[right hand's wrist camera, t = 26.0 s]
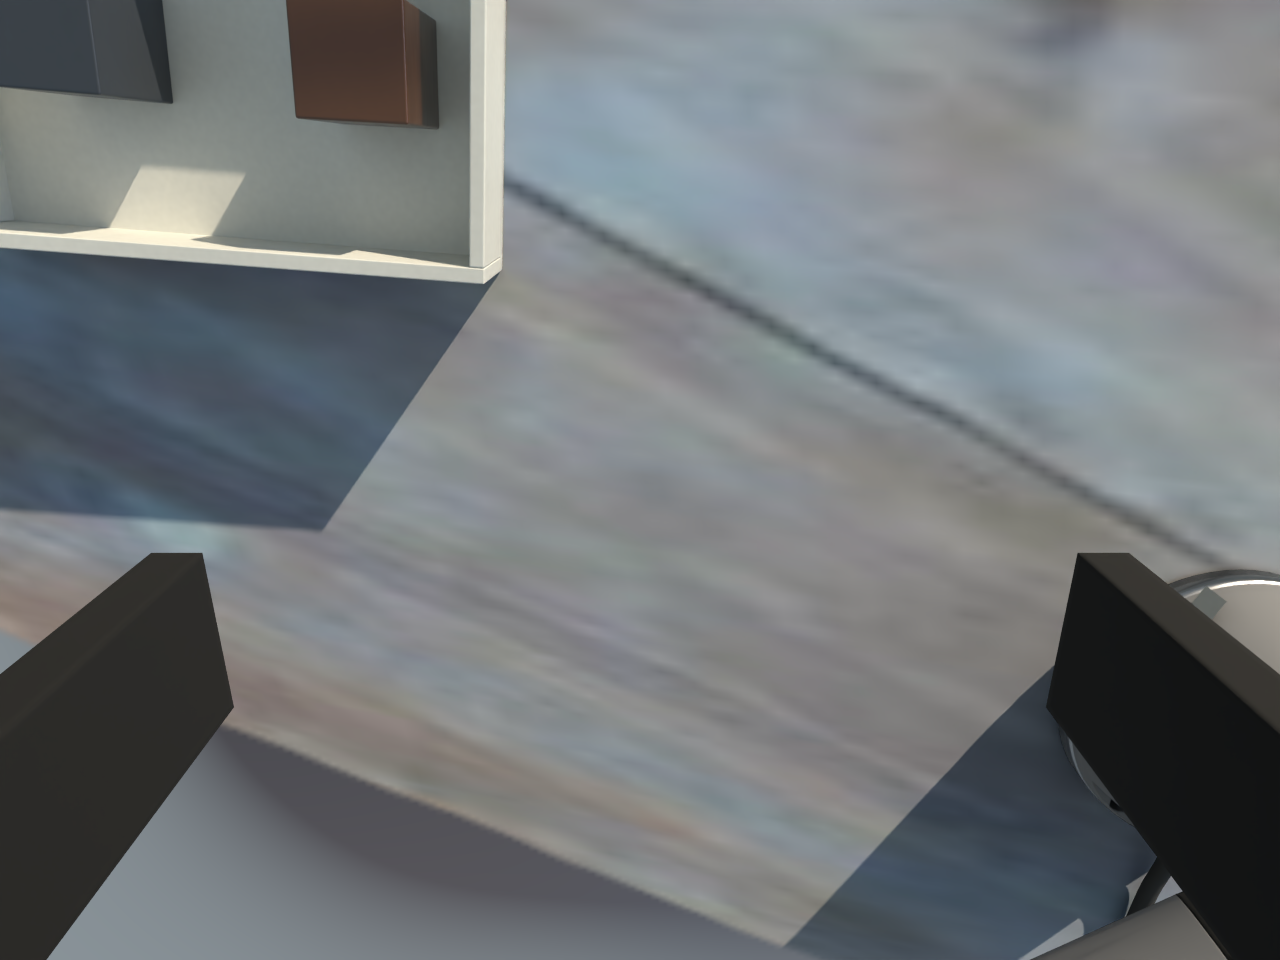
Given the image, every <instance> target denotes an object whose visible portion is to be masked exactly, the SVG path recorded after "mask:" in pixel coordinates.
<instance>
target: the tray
mask: <svg viewBox="0 0 1280 960" xmlns="http://www.w3.org/2000/svg"><path fill="white" fill-rule="evenodd" d="M407 1H408V2H409V3H411V4H412V5H414V6H415V7H417V8H418V9H420V10H421V11H423V12H424V13H426V14H427V15H428V16H430V17H431V18H433V19H434V20H435V21H436V35H437V70H438V106H439V129H437V130H434V129H417V128H400V127H383V126H366V125H349V124H338V123H329V122H321V121H313V120H305V119H298V118H296V116H295V104H294V92H293V80H292V68H291V56H290V44H289V32H288V20H287V9H286V0H162V3H163V12H164V21H165V31H166V40H167V49H168V59H169V68H170V77H171V87H172V96H173V104H165V103H153V102H141V101H130V100H118V99H107V98H95V97H83V96H73V95H64V94H55V93H46V92H37V91H29V90H20V89H11V88H2V87H0V248H7V249H20V250H33V251H47V252H60V253H73V254H87V255H100V256H113V257H127V258H140V259H153V260H167V261H180V262H193V263H206V264H220V265H233V266H246V267H260V268H273V269H286V270H300V271H313V272H326V273H340V274H353V275H366V276H380V277H393V278H406V279H420V280H433V281H446V282H460V283H473V284H485V283H486V282H487V281H488V280H490V279H491V278H492V277H493V276H495V275H496V274H497V273H498V272H500V271H501V270H502V242H503V177H504V112H505V48H506V0H407Z"/></svg>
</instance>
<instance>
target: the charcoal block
mask: <svg viewBox="0 0 1280 960" xmlns="http://www.w3.org/2000/svg"><path fill="white" fill-rule="evenodd" d="M0 87H2V88H11V89H20V90H29V91H37V92H46V93H55V94H64V95H73V96H83V97H95V98H107V99H118V100H130V101H141V102H153V103H165V104H173V96H172V87H171V77H170V68H169V59H168V49H167V40H166V31H165V21H164V12H163V3H162V0H0Z"/></svg>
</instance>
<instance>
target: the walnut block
mask: <svg viewBox="0 0 1280 960" xmlns="http://www.w3.org/2000/svg"><path fill="white" fill-rule="evenodd" d="M286 9H287V20H288V32H289V44H290V56H291V68H292V80H293V92H294V104H295V116H296V118H298V119H305V120H313V121H321V122H329V123H338V124H349V125H366V126H383V127H400V128H417V129H434V130H437V129H439V106H438V70H437V35H436V21H435V20H434V19H433V18H431V17H430V16H428V15H427V14H426V13H424V12H423V11H421V10H420V9H418V8H417V7H415V6H414V5H412V4H411V3H409V2H408V1H407V0H286Z"/></svg>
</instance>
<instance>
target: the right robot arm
mask: <svg viewBox="0 0 1280 960" xmlns="http://www.w3.org/2000/svg"><path fill="white" fill-rule="evenodd" d="M233 708H234V705H233V701H232V696H231V691H230V686H229V681H228V676H227V671H226V666H225V662H224V657H223V652H222V647H221V642H220V637H219V632H218V627H217V622H216V618H215V613H214V608H213V603H212V598H211V593H210V588H209V583H208V579H207V574H206V569H205V564H204V559H203V554H202V553H151V554H149V555H148V556H147V557H146V558H144V559H143V560H142V561H141V562H139V563H138V564H137V565H136V566H134V567H133V568H132V569H131V570H129V571H128V572H127V573H126V574H124V575H123V576H122V577H121V578H119V579H118V580H117V581H116V582H114V583H113V584H112V585H111V586H109V587H108V588H107V589H106V590H105V591H103V592H102V593H101V594H100V595H98V596H97V597H96V598H95V599H93V600H92V601H91V602H90V603H88V604H87V605H86V606H85V607H83V608H82V609H81V610H80V611H78V612H77V613H76V614H75V615H73V616H72V617H71V618H70V619H68V620H67V621H66V622H65V623H63V624H62V625H61V626H60V627H58V628H57V629H56V630H55V631H53V632H52V633H51V634H50V635H49V636H47V637H46V638H45V639H44V640H42V641H41V642H40V643H39V644H37V645H36V646H35V647H34V648H32V649H31V650H30V651H29V652H27V653H26V654H25V655H24V656H22V657H21V658H20V659H19V660H17V661H16V662H15V663H14V664H12V665H11V666H10V667H9V668H7V669H6V670H5V671H4V672H2V673H1V674H0V960H46V959H47V958H48V957H49V955H50V954H51V953H52V951H53V950H54V949H55V947H56V946H57V945H58V943H59V942H60V941H61V939H62V938H63V937H64V935H65V934H66V933H67V931H68V930H69V929H70V927H71V926H72V925H73V923H74V922H75V920H76V919H77V918H78V916H79V915H80V914H81V912H82V911H83V910H84V908H85V907H86V906H87V904H88V903H89V902H90V900H91V899H92V898H93V896H94V895H95V893H96V892H97V891H98V890H99V888H100V887H101V885H102V884H103V883H104V881H105V880H106V879H107V877H108V876H109V875H110V873H111V872H112V871H113V869H114V868H115V867H116V865H117V864H118V863H119V861H120V860H121V859H122V857H123V856H124V854H125V853H126V852H127V850H128V849H129V848H130V846H131V845H132V844H133V842H134V841H135V840H136V838H137V837H138V836H139V834H140V833H141V832H142V830H143V829H144V828H145V826H146V825H147V824H148V822H149V821H150V819H151V818H152V817H153V815H154V814H155V813H156V811H157V810H158V809H159V807H160V806H161V805H162V803H163V802H164V801H165V799H166V798H167V797H168V795H169V794H170V793H171V791H172V790H173V788H174V787H175V786H176V784H177V783H178V782H179V780H180V779H181V778H182V776H183V775H184V774H185V772H186V771H187V770H188V768H189V767H190V765H191V764H192V763H193V762H194V760H195V759H196V758H197V756H198V755H199V753H200V752H201V751H202V749H203V748H204V747H205V745H206V744H207V743H208V741H209V740H210V739H211V737H212V736H213V735H214V733H215V732H216V731H217V729H218V728H219V727H220V725H221V724H222V723H223V721H224V720H225V718H226V717H227V716H228V714H229V713H230V712H231V710H232V709H233ZM1046 708H1047V709H1048V710H1049V712H1050V713H1051V714H1052V716H1053V717H1054V718H1055V720H1056V721H1057V723H1058V724H1059V731H1060V737H1061V741H1062V745H1063V748H1064V750H1065V753H1066V755H1067V757H1068V759H1069V761H1070V763H1071V765H1072V766H1073V767H1074V769H1075V770H1076V772H1077V773H1078V775H1079V776H1080V777H1081V779H1082V780H1083V782H1084V783H1085V784H1086V786H1087V787H1088V789H1089V790H1090V791H1091V792H1092V793H1093V794H1094V795H1095V797H1096V798H1098V799H1099V800H1100V801H1101V802H1102V803H1103V804H1104V805H1105V806H1106V807H1107V808H1108V809H1109V810H1110V811H1112V812H1113V813H1114V814H1115V815H1117V816H1118V817H1120V818H1121V819H1123V820H1124V821H1126V822H1127V823H1129V824H1130V825H1132V826H1134V827H1135V828H1136V829H1137V830H1138V832H1139V833H1140V834H1141V836H1142V837H1143V838H1144V840H1145V841H1146V842H1147V844H1148V845H1149V846H1150V848H1151V849H1152V850H1153V852H1154V853H1155V854H1156V856H1157V859H1156V860H1155V862H1154V864H1153V865H1152V867H1151V869H1150V870H1149V872H1148V873H1147V875H1146V876H1145V878H1144V880H1143V881H1142V883H1141V885H1140V887H1139V889H1138V891H1137V893H1136V895H1135V898H1134V900H1133V902H1132V904H1131V907H1130V909H1129V911H1128V913H1127V916H1126V917H1124V918H1122V919H1120V920H1118V921H1115V922H1113V923H1111V924H1109V925H1106V926H1104V927H1102V928H1100V929H1098V930H1095V931H1093V932H1091V933H1089V934H1086V935H1084V936H1082V937H1080V938H1078V939H1075V940H1073V941H1071V942H1069V943H1066V944H1064V945H1062V946H1060V947H1057V948H1055V949H1053V950H1051V951H1049V952H1046V953H1044V954H1042V955H1040V956H1037V957H1035V958H1033V959H1031V960H1280V575H1279V574H1274V573H1270V572H1264V571H1256V570H1224V571H1217V572H1209V573H1205V574H1200V575H1195V576H1192V577H1188V578H1185V579H1181V580H1178V581H1176V582H1173V583H1171V584H1167V583H1166V582H1164V581H1163V580H1162V579H1161V578H1159V577H1158V576H1157V575H1156V574H1154V573H1153V572H1152V571H1151V570H1149V569H1148V568H1147V567H1146V566H1144V565H1143V564H1142V563H1141V562H1139V561H1138V560H1137V559H1136V558H1134V557H1133V556H1132V555H1131V554H1129V553H1078V554H1077V559H1076V564H1075V569H1074V574H1073V578H1072V583H1071V588H1070V593H1069V598H1068V603H1067V608H1066V613H1065V618H1064V622H1063V627H1062V632H1061V637H1060V642H1059V647H1058V652H1057V657H1056V662H1055V666H1054V671H1053V676H1052V681H1051V686H1050V691H1049V696H1048V701H1047V705H1046ZM1170 876H1172V877H1173V879H1174V880H1175V881H1176V883H1177V884H1178V885H1179V887H1180V888H1181V890H1182V891H1183V892H1180V893H1178V894H1176V895H1173V896H1171V897H1169V898H1167V899H1164V900H1162V901H1160V902H1158V903H1156V904H1155V901H1156V899H1157V897H1158V895H1159V894H1160V892H1161V890H1162V889H1163V887H1164V885H1165V884H1166V882H1167V881H1168V879H1169V878H1170Z"/></svg>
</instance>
